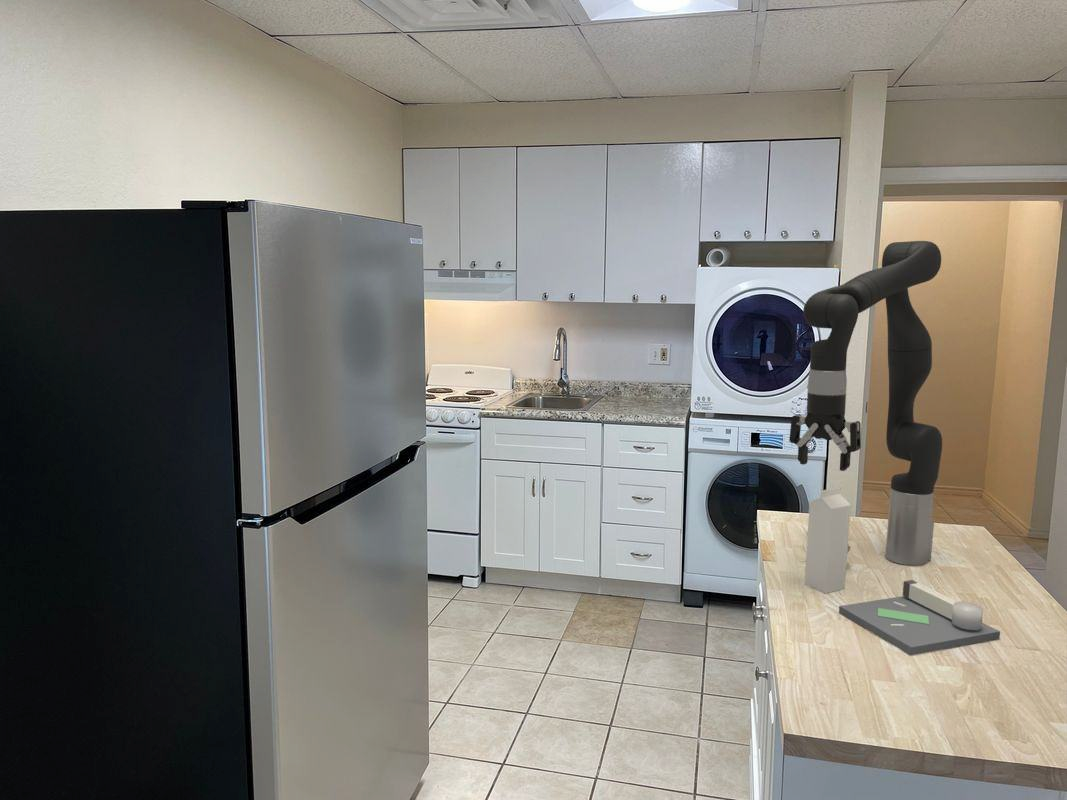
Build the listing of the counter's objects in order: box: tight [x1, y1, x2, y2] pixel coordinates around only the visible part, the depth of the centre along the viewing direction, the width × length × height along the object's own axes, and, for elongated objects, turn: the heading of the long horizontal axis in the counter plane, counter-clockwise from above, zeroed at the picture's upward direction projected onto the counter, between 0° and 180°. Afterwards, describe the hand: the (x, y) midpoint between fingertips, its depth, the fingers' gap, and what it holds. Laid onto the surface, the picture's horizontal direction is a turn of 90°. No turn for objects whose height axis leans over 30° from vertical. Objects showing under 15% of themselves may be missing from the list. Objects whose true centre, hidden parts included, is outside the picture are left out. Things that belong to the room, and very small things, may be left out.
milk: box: [804, 487, 852, 594], centre depth 174 cm, size 6×6×22 cm
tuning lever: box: [902, 579, 984, 630], centre depth 158 cm, size 18×5×4 cm, turn 19°
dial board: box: [838, 595, 1001, 656], centre depth 156 cm, size 21×19×2 cm
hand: (823, 466), depth 169 cm, fingers open, 8 cm apart
